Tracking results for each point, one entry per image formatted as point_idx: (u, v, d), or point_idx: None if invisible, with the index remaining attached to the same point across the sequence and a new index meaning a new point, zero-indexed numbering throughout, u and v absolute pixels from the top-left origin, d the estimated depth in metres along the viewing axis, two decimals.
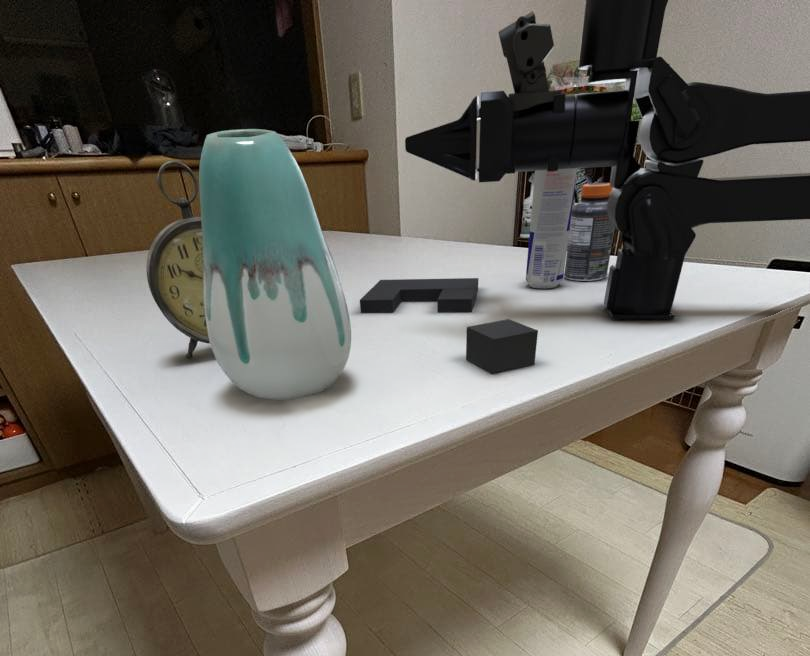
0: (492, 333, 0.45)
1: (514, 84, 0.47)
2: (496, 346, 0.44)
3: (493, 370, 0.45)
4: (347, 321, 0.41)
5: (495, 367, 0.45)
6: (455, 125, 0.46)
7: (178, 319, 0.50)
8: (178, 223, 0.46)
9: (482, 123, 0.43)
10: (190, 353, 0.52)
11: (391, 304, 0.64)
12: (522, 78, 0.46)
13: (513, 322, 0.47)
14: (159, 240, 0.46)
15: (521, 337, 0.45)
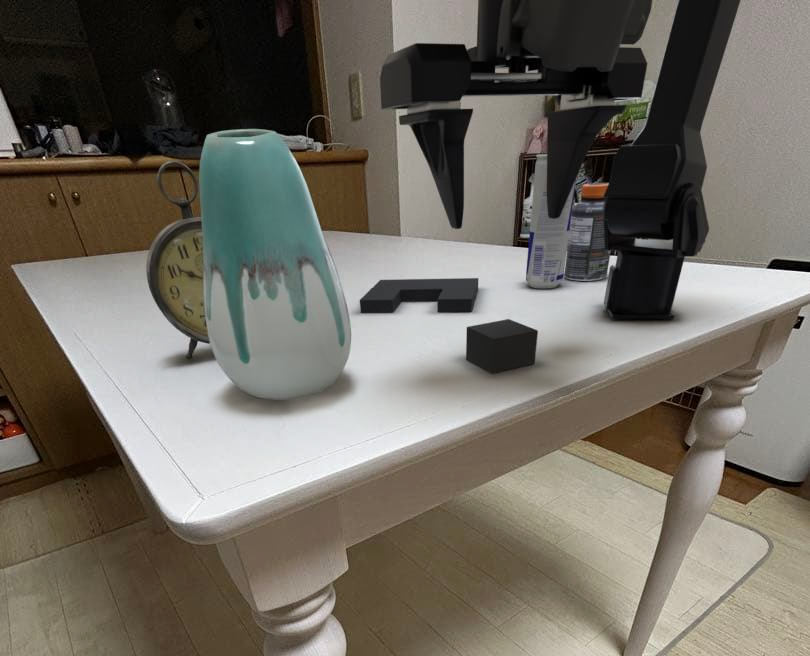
0: (492, 333, 0.45)
1: None
2: (496, 346, 0.44)
3: (493, 370, 0.45)
4: (347, 321, 0.41)
5: (495, 367, 0.45)
6: None
7: (178, 319, 0.50)
8: (178, 223, 0.46)
9: None
10: (191, 354, 0.52)
11: (391, 304, 0.64)
12: None
13: (513, 322, 0.47)
14: (159, 240, 0.46)
15: (521, 337, 0.45)
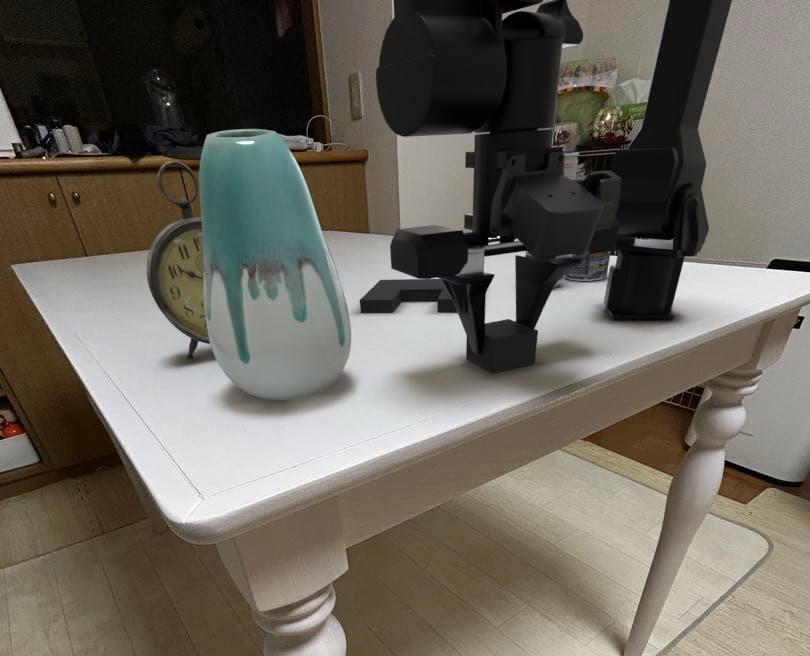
0: (492, 333, 0.45)
1: None
2: (496, 346, 0.44)
3: (493, 370, 0.45)
4: (347, 321, 0.41)
5: (495, 367, 0.45)
6: None
7: (179, 319, 0.50)
8: (179, 223, 0.46)
9: None
10: (191, 354, 0.52)
11: (391, 304, 0.64)
12: None
13: (513, 322, 0.47)
14: (160, 240, 0.46)
15: (521, 337, 0.45)
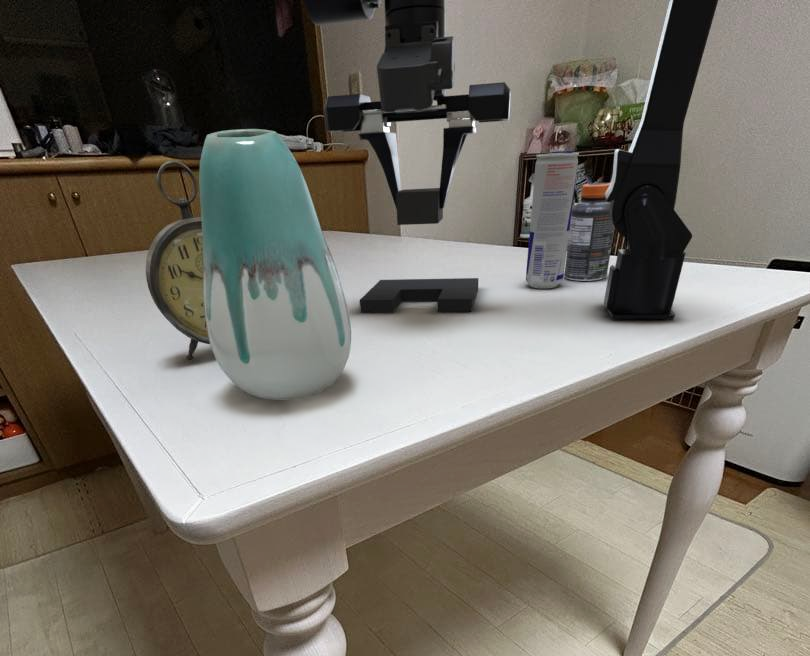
0: (405, 191, 0.56)
1: None
2: (398, 200, 0.56)
3: (398, 222, 0.57)
4: (347, 321, 0.41)
5: (400, 219, 0.57)
6: (456, 152, 0.53)
7: (179, 320, 0.50)
8: (179, 223, 0.46)
9: None
10: (191, 355, 0.52)
11: (391, 304, 0.64)
12: None
13: (438, 188, 0.57)
14: (160, 241, 0.45)
15: (421, 195, 0.55)
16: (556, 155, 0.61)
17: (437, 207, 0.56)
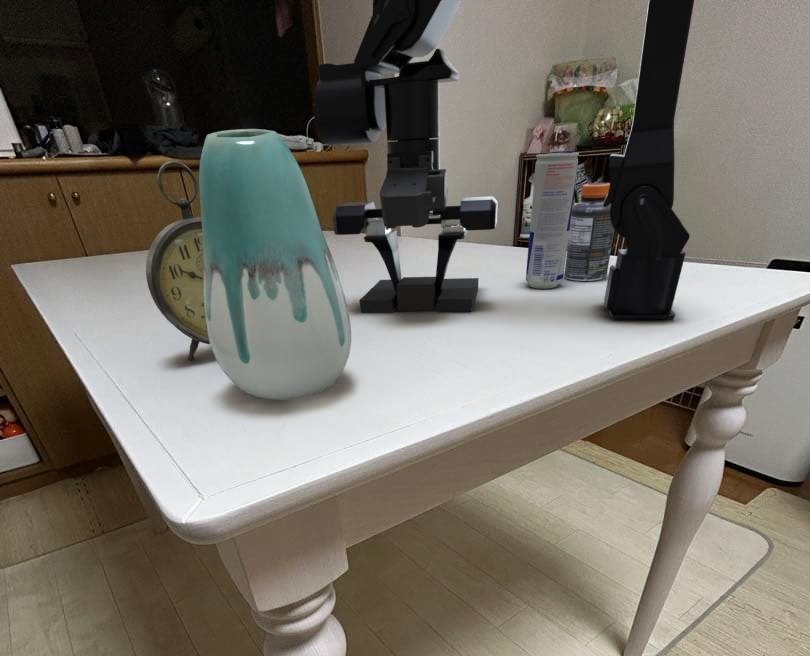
0: (405, 282, 0.63)
1: None
2: (399, 290, 0.63)
3: (398, 308, 0.64)
4: (347, 321, 0.41)
5: (400, 306, 0.64)
6: None
7: (180, 320, 0.49)
8: (180, 224, 0.45)
9: (495, 225, 0.58)
10: (192, 355, 0.52)
11: (391, 304, 0.64)
12: None
13: (434, 278, 0.64)
14: (161, 241, 0.45)
15: (419, 287, 0.62)
16: (556, 155, 0.61)
17: (433, 297, 0.63)
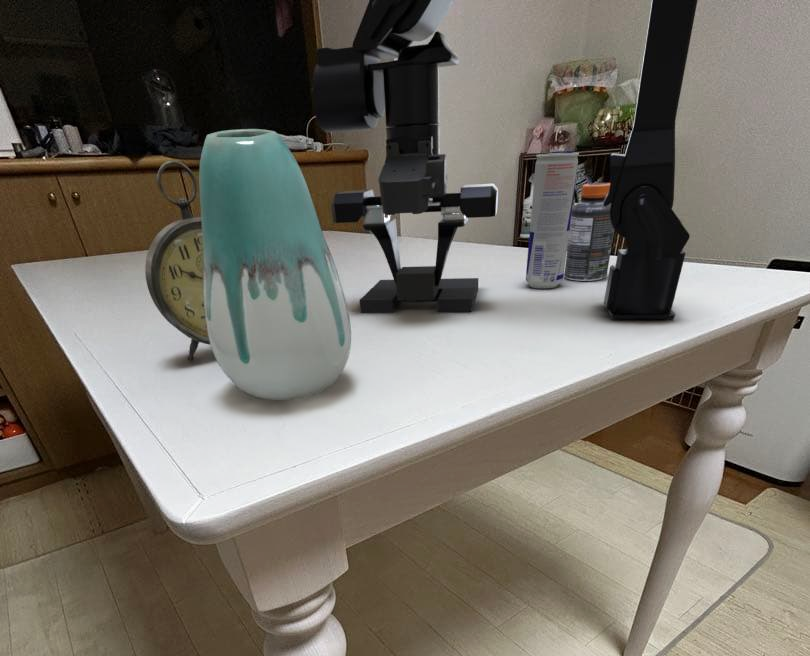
0: (404, 271, 0.63)
1: None
2: (398, 280, 0.62)
3: (398, 298, 0.63)
4: (347, 321, 0.41)
5: (399, 296, 0.63)
6: None
7: (180, 321, 0.49)
8: (180, 223, 0.45)
9: None
10: (192, 355, 0.52)
11: (391, 304, 0.64)
12: None
13: (434, 268, 0.64)
14: (161, 241, 0.45)
15: (418, 276, 0.61)
16: (556, 155, 0.61)
17: (433, 286, 0.62)
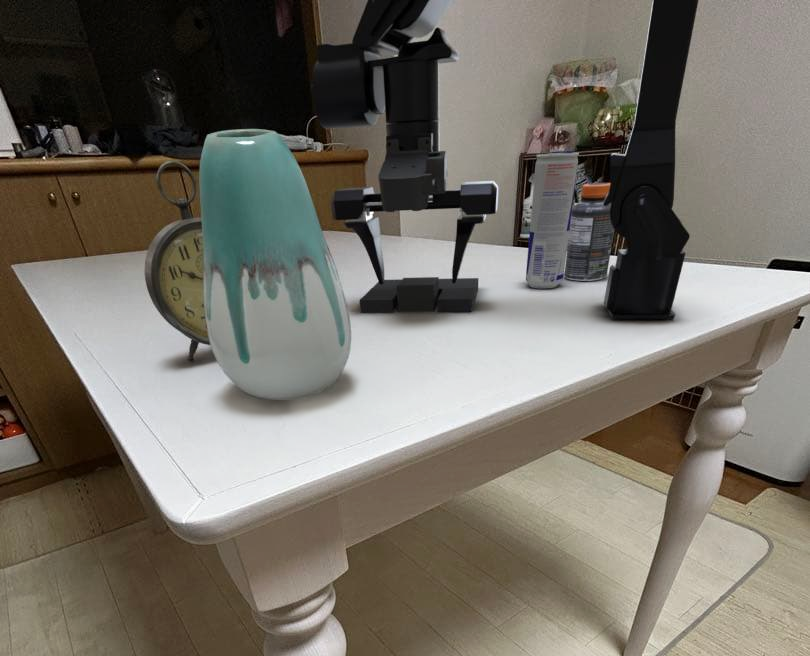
0: (405, 282, 0.64)
1: None
2: (399, 291, 0.63)
3: (399, 309, 0.64)
4: (347, 321, 0.41)
5: (400, 307, 0.64)
6: (468, 237, 0.59)
7: (180, 321, 0.49)
8: (179, 224, 0.45)
9: (496, 209, 0.57)
10: (192, 356, 0.52)
11: (391, 304, 0.64)
12: None
13: (434, 279, 0.64)
14: (161, 241, 0.45)
15: (419, 288, 0.62)
16: (556, 155, 0.61)
17: (433, 298, 0.63)
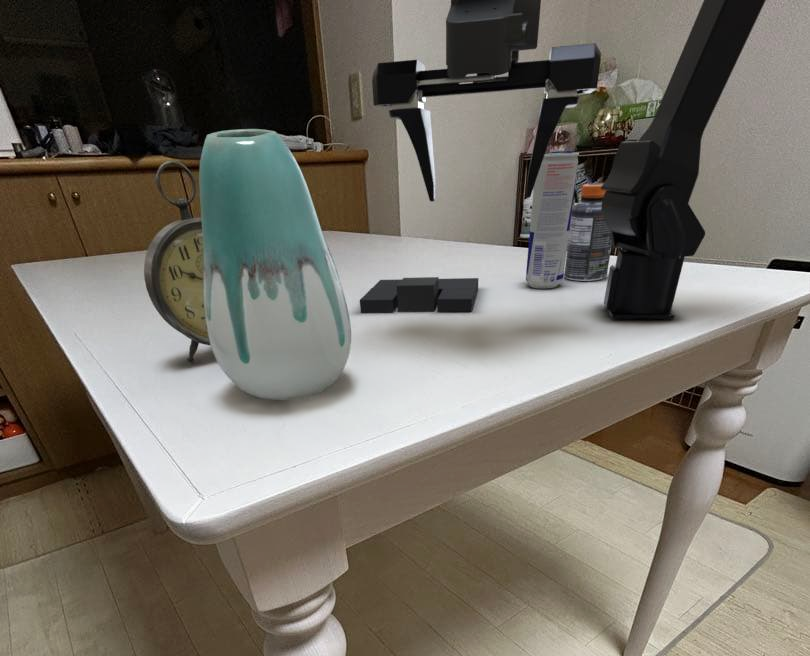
0: (405, 282, 0.64)
1: None
2: (399, 291, 0.63)
3: (399, 309, 0.64)
4: (347, 321, 0.41)
5: (400, 307, 0.64)
6: None
7: (180, 322, 0.49)
8: (180, 224, 0.45)
9: None
10: (192, 357, 0.52)
11: (391, 304, 0.64)
12: None
13: (434, 279, 0.64)
14: (161, 241, 0.45)
15: (419, 288, 0.62)
16: (556, 155, 0.61)
17: (433, 298, 0.63)
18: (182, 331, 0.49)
